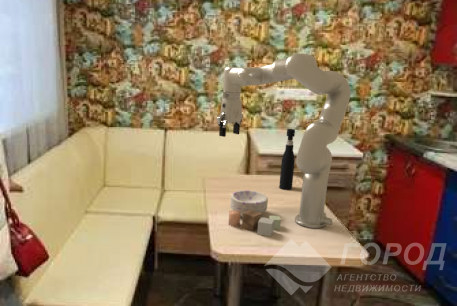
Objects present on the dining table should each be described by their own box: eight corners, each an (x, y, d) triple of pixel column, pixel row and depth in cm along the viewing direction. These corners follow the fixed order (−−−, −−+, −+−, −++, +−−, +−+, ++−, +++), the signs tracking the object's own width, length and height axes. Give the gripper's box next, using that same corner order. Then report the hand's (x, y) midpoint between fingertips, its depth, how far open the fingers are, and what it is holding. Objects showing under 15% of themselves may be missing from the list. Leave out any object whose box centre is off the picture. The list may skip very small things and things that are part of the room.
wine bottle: (292, 190, 209) (298, 130, 202) (279, 189, 209) (285, 130, 202) (291, 186, 215) (296, 128, 208) (278, 185, 215) (283, 127, 208)
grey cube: (273, 231, 158) (274, 219, 157) (270, 236, 154) (271, 224, 153) (260, 229, 160) (261, 217, 159) (257, 234, 155) (258, 221, 154)
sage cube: (278, 225, 164) (279, 216, 163) (279, 229, 161) (280, 220, 160) (268, 224, 165) (269, 215, 164) (269, 229, 161) (269, 219, 160)
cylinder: (242, 224, 163) (243, 212, 162) (235, 227, 160) (236, 215, 159) (233, 221, 166) (233, 209, 165) (226, 224, 162) (227, 212, 161)
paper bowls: (246, 224, 164) (248, 204, 162) (222, 211, 175) (223, 193, 173) (274, 216, 174) (275, 198, 172) (249, 205, 185) (250, 187, 183)
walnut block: (260, 228, 161) (261, 213, 160) (252, 231, 157) (253, 216, 156) (249, 224, 164) (250, 209, 163) (241, 228, 160) (242, 213, 159)
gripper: (225, 97, 172) (223, 138, 176) (250, 96, 186) (247, 134, 189) (211, 95, 177) (210, 135, 181) (236, 94, 190) (234, 131, 194)
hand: (229, 135), depth 185 cm, fingers open, 9 cm apart
